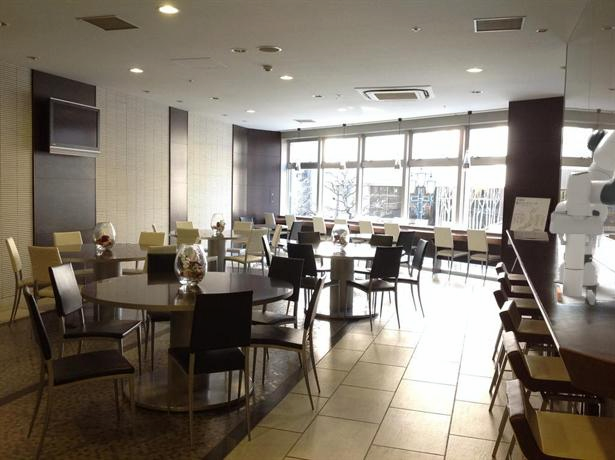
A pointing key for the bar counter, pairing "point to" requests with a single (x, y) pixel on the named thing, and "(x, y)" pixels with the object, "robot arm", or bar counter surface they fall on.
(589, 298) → the vise fixed jaw
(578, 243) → the white tall box
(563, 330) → the bar counter surface
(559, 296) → the sliding jaw
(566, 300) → the bar counter surface
